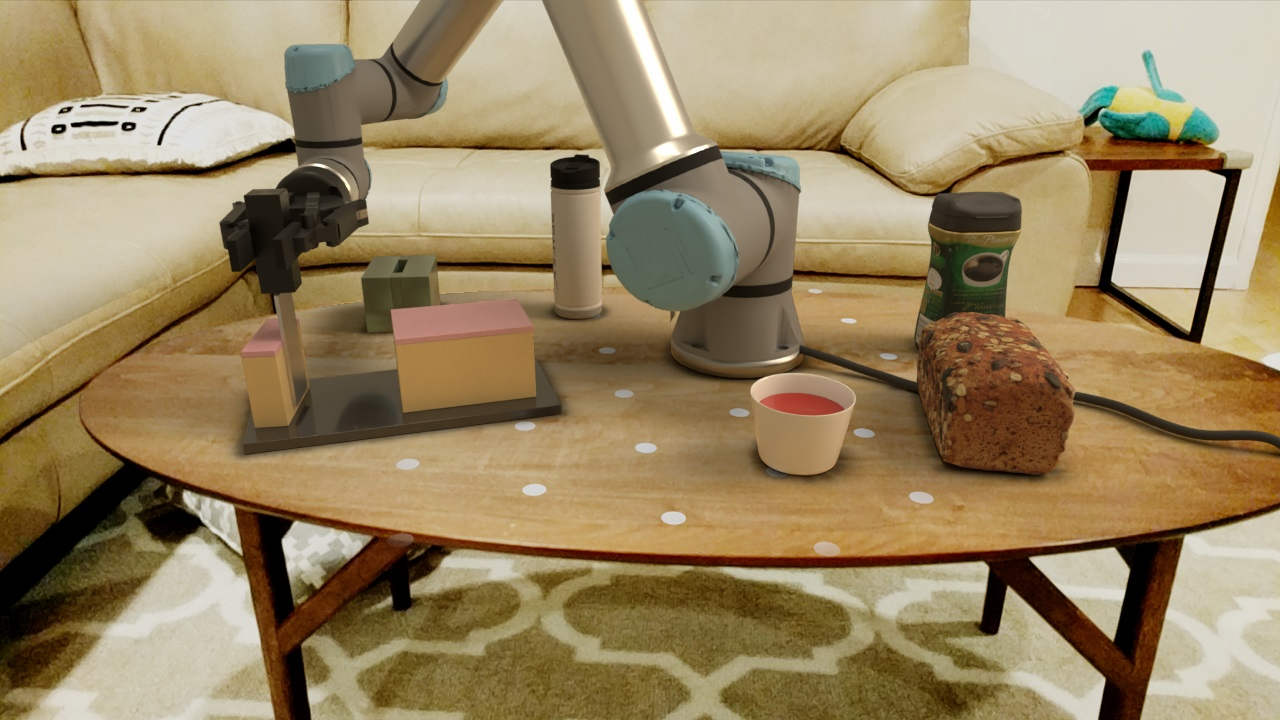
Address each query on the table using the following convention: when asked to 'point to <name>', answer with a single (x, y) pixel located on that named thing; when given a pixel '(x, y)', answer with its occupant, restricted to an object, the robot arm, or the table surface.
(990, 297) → the coffee jar
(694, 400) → the table surface
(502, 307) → the cake loaf
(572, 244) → the travel mug
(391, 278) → the knife block
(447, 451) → the table surface
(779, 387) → the candle
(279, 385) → the cake slice
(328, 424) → the cake board
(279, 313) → the kitchen knife
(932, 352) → the bread
